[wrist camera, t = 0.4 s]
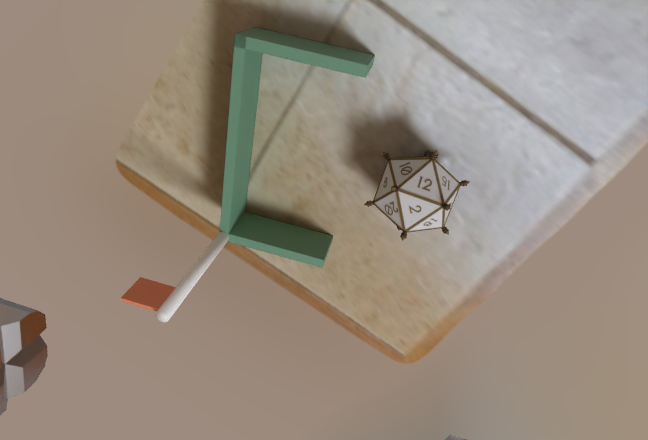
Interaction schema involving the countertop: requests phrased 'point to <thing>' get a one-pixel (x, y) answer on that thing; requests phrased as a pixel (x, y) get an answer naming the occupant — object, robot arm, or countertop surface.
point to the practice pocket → (237, 167)
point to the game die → (416, 193)
